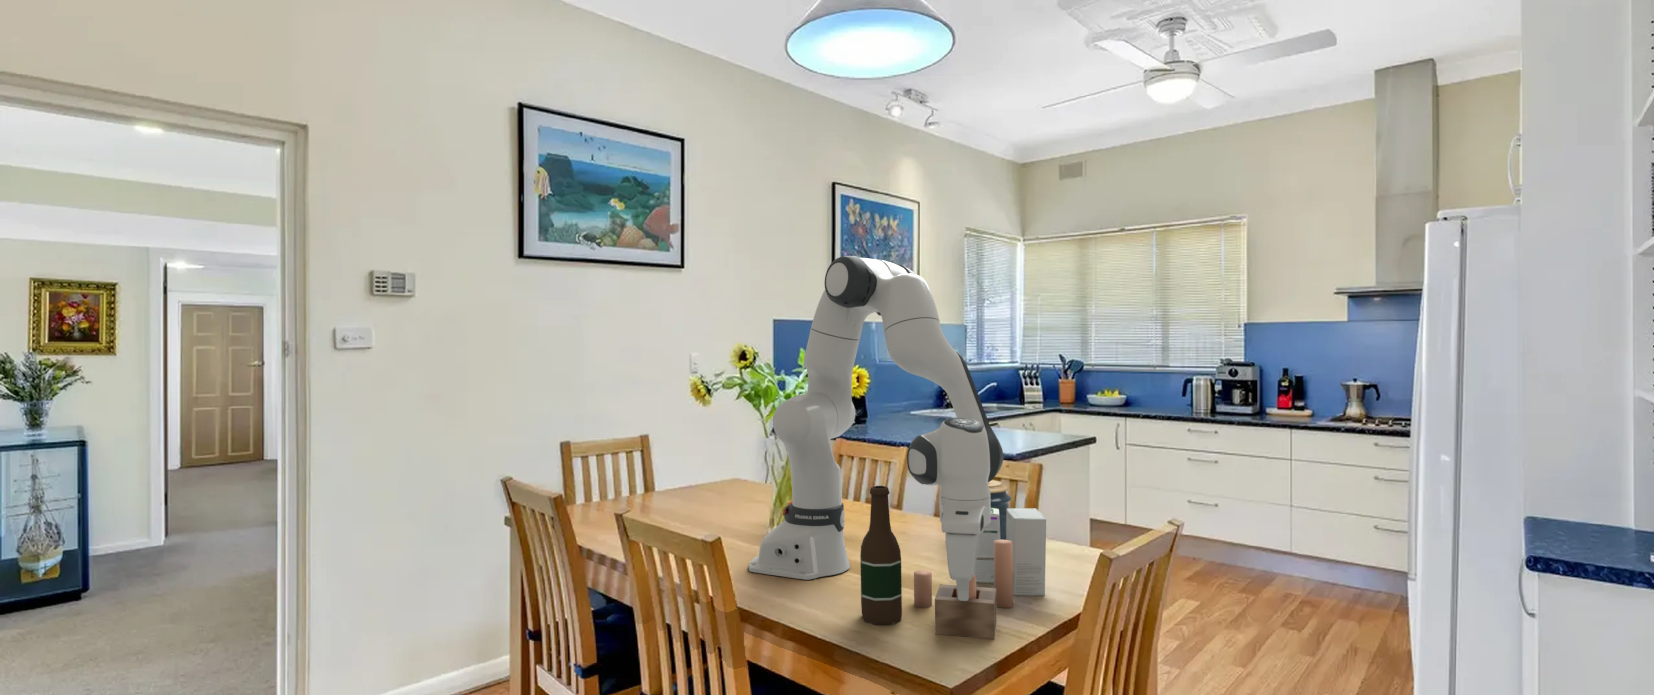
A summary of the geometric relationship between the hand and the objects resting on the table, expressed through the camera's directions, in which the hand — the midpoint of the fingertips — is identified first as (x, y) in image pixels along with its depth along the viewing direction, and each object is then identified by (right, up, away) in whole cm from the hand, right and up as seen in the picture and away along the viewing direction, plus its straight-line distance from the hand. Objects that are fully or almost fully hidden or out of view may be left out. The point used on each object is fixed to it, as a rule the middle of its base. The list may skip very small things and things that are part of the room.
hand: (965, 590), depth 134 cm
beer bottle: (-14, -7, +5) cm, 17 cm away
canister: (+14, -6, +52) cm, 54 cm away
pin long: (+9, -6, +11) cm, 16 cm away
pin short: (-6, -7, +12) cm, 15 cm away
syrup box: (+9, -6, +27) cm, 29 cm away
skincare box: (+16, -6, +20) cm, 26 cm away
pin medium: (0, -7, 0) cm, 7 cm away
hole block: (0, -7, 0) cm, 7 cm away
